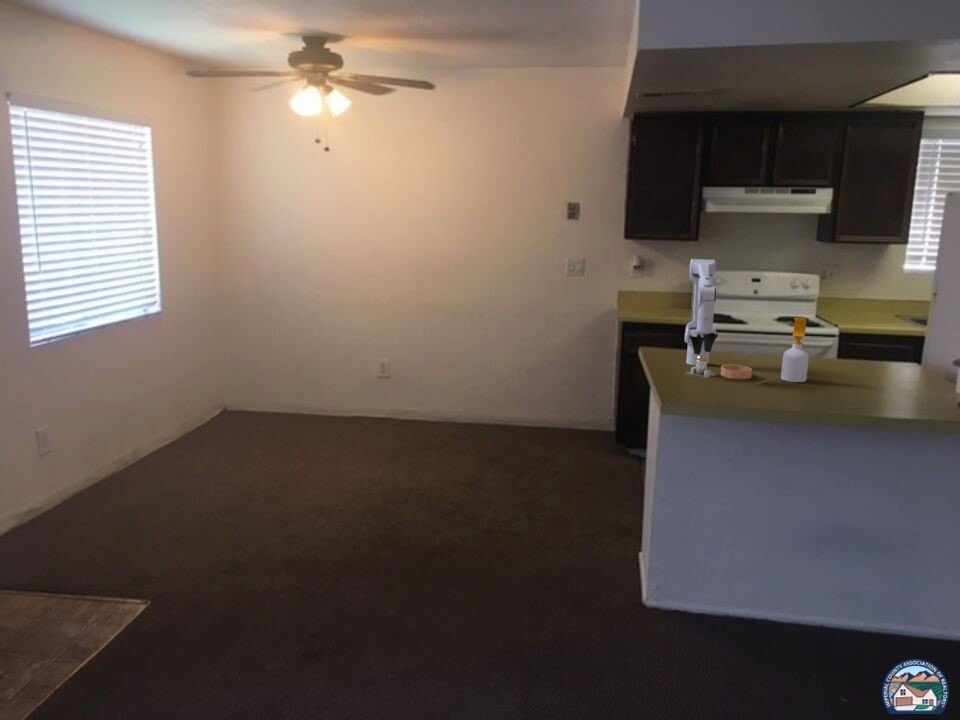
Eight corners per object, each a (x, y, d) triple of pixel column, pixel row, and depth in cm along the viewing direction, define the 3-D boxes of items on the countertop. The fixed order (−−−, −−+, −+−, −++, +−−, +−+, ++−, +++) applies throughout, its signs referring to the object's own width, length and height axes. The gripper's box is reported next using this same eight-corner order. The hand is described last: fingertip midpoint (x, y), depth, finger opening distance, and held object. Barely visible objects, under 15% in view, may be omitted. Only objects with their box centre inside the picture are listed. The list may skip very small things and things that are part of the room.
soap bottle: (779, 381, 278) (786, 317, 273) (782, 376, 286) (789, 314, 281) (804, 384, 274) (812, 320, 269) (806, 379, 282) (814, 316, 277)
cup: (729, 373, 289) (730, 363, 289) (756, 378, 281) (757, 368, 281) (714, 377, 282) (715, 367, 281) (741, 382, 274) (742, 372, 273)
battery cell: (698, 372, 286) (700, 354, 284) (707, 374, 283) (709, 356, 281) (693, 373, 283) (694, 356, 281) (702, 375, 280) (703, 358, 278)
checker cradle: (694, 372, 289) (695, 365, 289) (717, 377, 282) (717, 369, 281) (683, 375, 284) (683, 368, 283) (706, 380, 277) (706, 372, 276)
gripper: (704, 321, 270) (701, 356, 273) (724, 317, 280) (721, 352, 283) (687, 318, 275) (685, 353, 278) (708, 315, 285) (705, 349, 288)
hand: (702, 352), depth 281 cm, fingers open, 7 cm apart
